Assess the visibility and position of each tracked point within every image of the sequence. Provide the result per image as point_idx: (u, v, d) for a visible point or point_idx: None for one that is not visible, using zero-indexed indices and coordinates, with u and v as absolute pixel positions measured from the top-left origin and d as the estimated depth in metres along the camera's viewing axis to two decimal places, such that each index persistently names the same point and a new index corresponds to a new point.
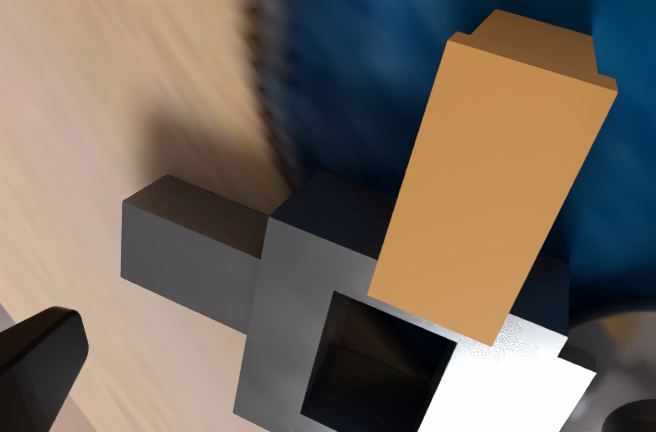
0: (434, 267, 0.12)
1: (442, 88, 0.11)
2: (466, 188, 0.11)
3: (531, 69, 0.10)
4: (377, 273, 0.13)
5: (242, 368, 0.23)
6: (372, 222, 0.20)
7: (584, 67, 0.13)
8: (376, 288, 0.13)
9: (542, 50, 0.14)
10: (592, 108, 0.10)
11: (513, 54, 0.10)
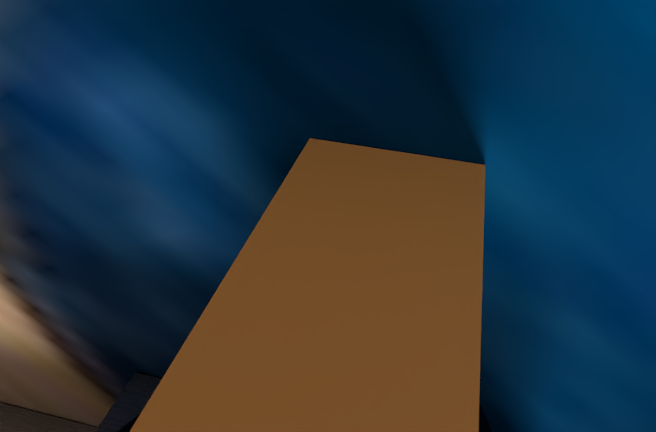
0: None
1: None
2: None
3: None
4: None
5: None
6: None
7: (446, 413, 0.05)
8: None
9: (353, 346, 0.06)
10: None
11: None
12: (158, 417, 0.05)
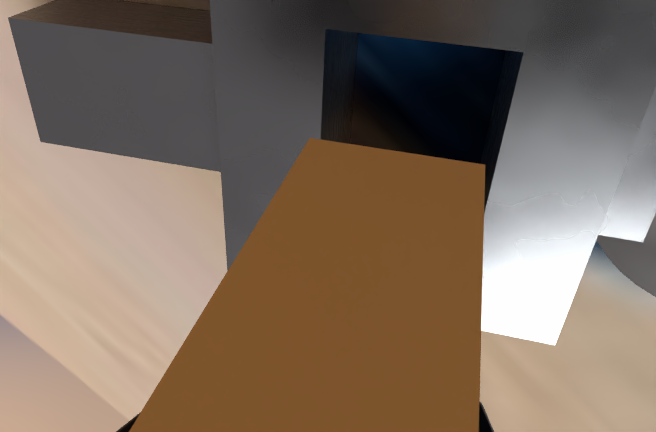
0: None
1: None
2: None
3: None
4: None
5: (225, 207, 0.17)
6: None
7: (446, 413, 0.05)
8: None
9: (353, 346, 0.06)
10: None
11: None
12: (158, 417, 0.05)
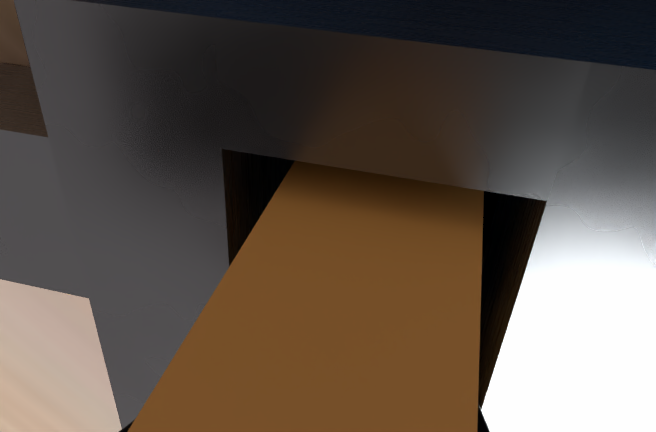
0: None
1: None
2: None
3: None
4: None
5: (109, 369, 0.11)
6: None
7: (445, 412, 0.05)
8: None
9: (352, 345, 0.06)
10: None
11: None
12: (157, 416, 0.05)
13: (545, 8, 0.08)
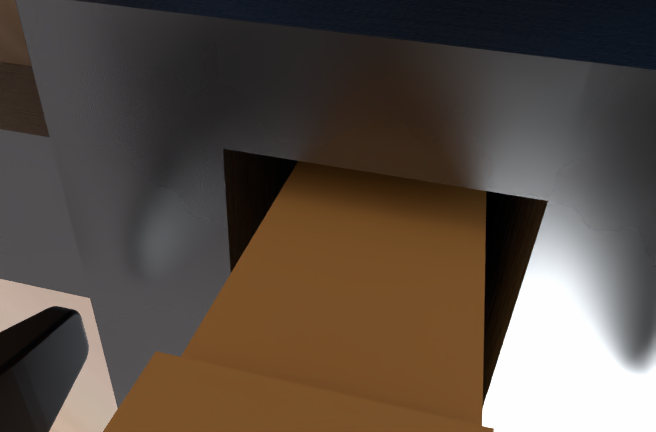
0: None
1: None
2: None
3: None
4: None
5: (110, 368, 0.11)
6: None
7: (461, 257, 0.07)
8: None
9: (391, 220, 0.08)
10: None
11: None
12: (255, 256, 0.07)
13: (546, 8, 0.08)
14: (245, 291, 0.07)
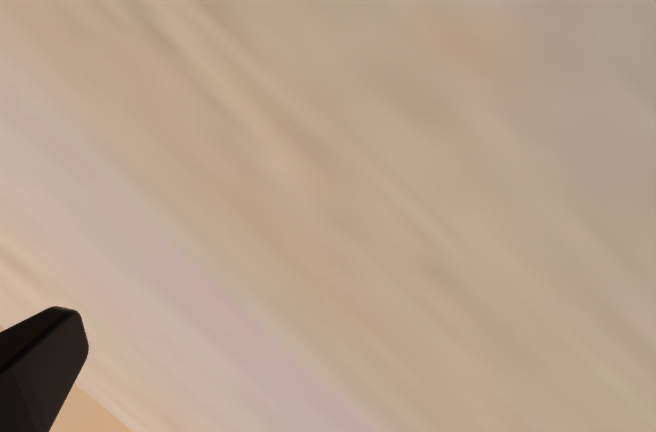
0: None
1: None
2: None
3: None
4: None
5: None
6: None
7: None
8: None
9: None
10: None
11: None
12: None
13: None
14: None
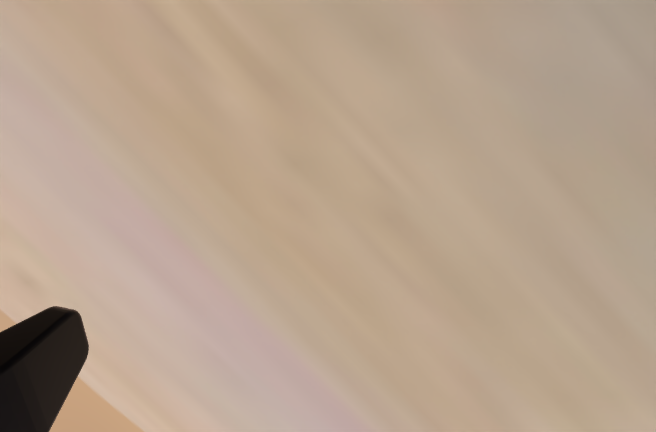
0: None
1: None
2: None
3: None
4: None
5: None
6: None
7: None
8: None
9: None
10: None
11: None
12: None
13: None
14: None
